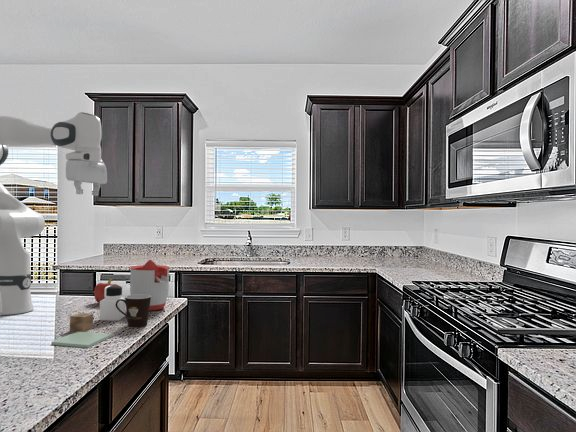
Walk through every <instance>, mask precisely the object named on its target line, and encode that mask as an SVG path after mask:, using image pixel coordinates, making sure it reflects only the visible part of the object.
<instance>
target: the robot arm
mask: <svg viewBox="0 0 576 432" xmlns="http://www.w3.org/2000/svg"><path fill="white" fill-rule="evenodd" d="M102 131H103V130H102V122H101V119H100V118H99V116H97V115H95V114H91V113H89V112H82V111H81V112H78V113H77V114H76V115H75V116H73V117H72V118H69V119H66V120H63V121H58V122H56V123H54V124H53V126H52V128H51V127H48V126H47V127H46V126H43V125H41V124H39V123H35V122H32V121H30V120H28V119H27V120H26V119H23V118H20V117H16V116H9V115H6V116H5V115H0V166H1V165H3V164H4V163H5V162H6V160H7V159H8V156H9V146H12V147H13V146H15V147H17V146H20V147H22V146H23V147H24V146H39V145H41V146H42V145H51V146H57V147H59V148H61V149H66V150H71V152H67V153H65V159H66V161H65V162H66V163H65V178H66V180H67V181H71V182H73V186H74V188H75V194H76V195H83V194H84V189H82V183H87V184H88V183H89V184H93V190H91V195H92V196H99V191H100V188H101V185H106V184H107V182H108V172H107V171H108V170H107V167H106V164H105V162H104V161H103V160H102V147H101V141H102V138H103V137H102V135H103V134H102ZM45 225H46V221H45V218H44V216H43V215H42V214H41V213H40V212H38V211H35V210H34V209H32V208H30V207H29V206H28V205H26V204H24V203H23V202H21V201H20V200H19V199H17V198H16V197H15V196H14V195H13V194H11V192H10V191H9V190H8V189H7V188H6V186H4V184H3V183H2V182H1V181H0V316H5V315H17V314H23V313H29V312H31V311H34V310H35V309H34V308H35V307H34V305H33V301H32V300H33V299H32V294H31V283H32V273H30V272H31V253H30V252H29V251H28V250H27V249H25V247H24V245H23V243H22V239H23V238H24V239H25V238H31V237H34V236H36V235H37V236H38V235H39V234H41V233H42V232H43V231H44V229H45Z"/></svg>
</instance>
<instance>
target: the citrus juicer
mask: <svg viewBox="0 0 576 432" xmlns="http://www.w3.org/2000/svg"><path fill="white" fill-rule="evenodd" d="M170 268H171V267H170V266H168V265H163V264H162V265H159V264H156V263H155V261H153V259H149V260H147V261H146V262H145V263H144V264H140V265H134V266H130V267H129V269H130V277H129V278H130V281H129V282H130V285H129V292H130V294H129V295H135V294H145V295H150V296H151V300H150V307H149V312H151V311H157V310H162V309H164V308H165V306H166V303H167V300H168V295H169V288H170V286H169V284H170Z"/></svg>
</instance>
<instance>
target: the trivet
mask: <svg viewBox="0 0 576 432" xmlns="http://www.w3.org/2000/svg"><path fill="white" fill-rule="evenodd" d="M111 338H112V333H100V332H99V333H98V332H88V331H85V332H73V333H70V334H68V335H65V336H63V337H60V338H58V339H55V340H52V341H51V346H61V347H75V348H87V349H89V348H91V347H93V346H96V345H97V344H99V343H102V342H104V341H107V339H111Z"/></svg>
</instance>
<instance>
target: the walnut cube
mask: <svg viewBox="0 0 576 432" xmlns="http://www.w3.org/2000/svg"><path fill="white" fill-rule="evenodd" d="M93 329H94V314H93V313H89V312H88V313H85V312H78V313H75V314H73V315H69V332H73V333H75V332H88V331H90V330H93Z"/></svg>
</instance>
